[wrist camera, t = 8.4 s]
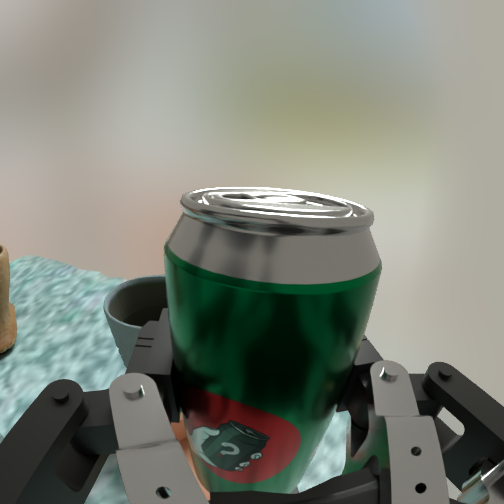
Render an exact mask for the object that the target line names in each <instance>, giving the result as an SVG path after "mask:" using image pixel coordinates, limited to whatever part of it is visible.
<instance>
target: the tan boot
mask: <svg viewBox="0 0 504 504" xmlns="http://www.w3.org/2000/svg"><path fill="white" fill-rule="evenodd" d="M9 286H10V266H9V258H8V252H7V249H6V248H5V247H4V246H3V245H1V244H0V353H3V352H4V351H6V350H7V349H9V348H11V347H12V346H13V345H14V343H15V341H16V334H17V323H16V316H15V307H14V305H13V304H11V303H9Z"/></svg>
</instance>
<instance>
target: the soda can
mask: <svg viewBox="0 0 504 504" xmlns="http://www.w3.org/2000/svg"><path fill="white" fill-rule="evenodd" d="M180 204H181V208H182V209H183V210H184V211H183V213H182V215H181V217H180V218H179V220H178V222H177V224H176V225H175V227H174V229H173V230H172V232H171V233H170V235H169V237H168V238H167V240H166V242H165V245H164V265H165V282H166V295H167V307H168V318H169V328H170V337H171V345H172V353H173V361H174V368H175V375H176V381H177V388H178V394H179V399H180V405H181V410H182V416H183V421H184V426H185V431H186V436H187V440H188V445H189V449H190V453H191V458H192V462H193V466H194V470H195V473H196V476H197V478H198V480H199V481H200V483H201V484H202V486H203V487H204V488H205V489H206V490H207V491H208V492H209V493H210V492H235V491H252V490H253V491H262V492H272V493H288V494H290V493H291V492H292V491H293V490H294V489H295V488H296V486H297V485H298V484H299V482H300V480H301V479H302V477H303V475H304V473H305V472H306V470H307V468H308V466H309V464H310V463H311V461H312V459H313V457H314V455H315V453H316V451H317V449H318V447H319V445H320V443H321V441H322V439H323V437H324V435H325V433H326V431H327V429H328V427H329V424H330V422H331V420H332V418H333V416H334V413H335V411H336V409H337V406H338V404H339V402H340V399H341V397H342V394H343V392H344V389H345V387H346V384H347V382H348V379H349V377H350V374H351V371H352V368H353V366H354V363H355V360H356V357H357V354H358V351H359V349H360V346H361V342H362V339H363V336H364V333H365V330H366V327H367V323H368V320H369V316H370V313H371V309H372V306H373V302H374V298H375V295H376V291H377V286H378V282H379V278H380V274H381V270H382V265H381V259H380V257H379V254H378V251H377V249H376V246H375V243H374V241H373V238H372V235H371V232H370V229H369V227H370V226H371V225H372V224H373V221H374V215H373V212H372V211H371V210H370V209H368V208H366V207H364V206H362V205H360V204H357V203H354V202H351V201H348V200H344V199H340V198H336V197H331V196H326V195H321V194H315V193H309V192H302V191H293V190H284V189H272V188H255V187H220V188H207V189H200V190H194V191H191V192H188V193H185V194H184V195H182V198H181V201H180Z"/></svg>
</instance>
